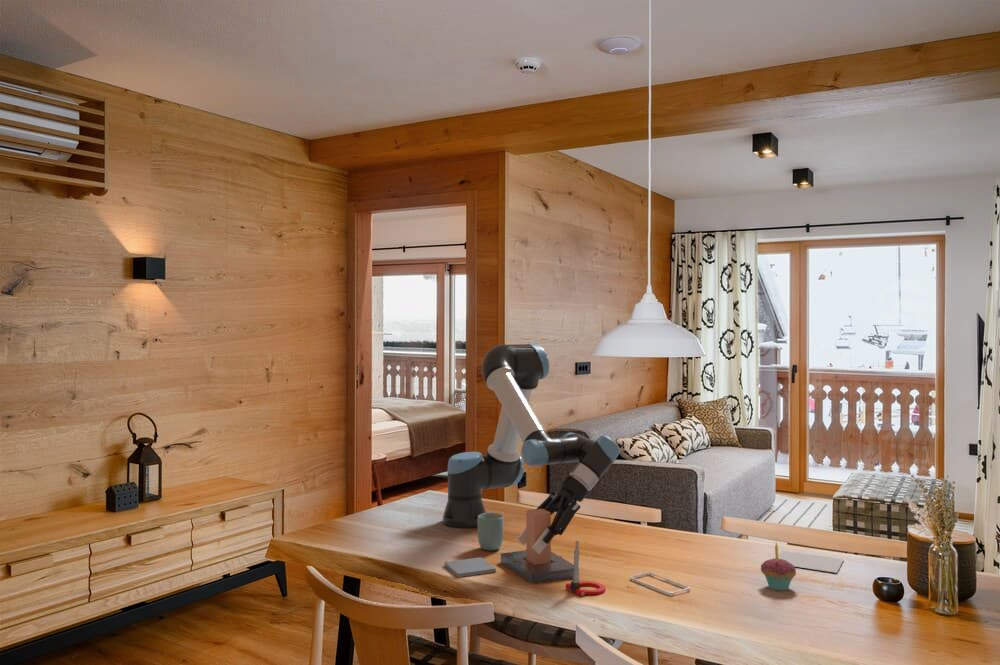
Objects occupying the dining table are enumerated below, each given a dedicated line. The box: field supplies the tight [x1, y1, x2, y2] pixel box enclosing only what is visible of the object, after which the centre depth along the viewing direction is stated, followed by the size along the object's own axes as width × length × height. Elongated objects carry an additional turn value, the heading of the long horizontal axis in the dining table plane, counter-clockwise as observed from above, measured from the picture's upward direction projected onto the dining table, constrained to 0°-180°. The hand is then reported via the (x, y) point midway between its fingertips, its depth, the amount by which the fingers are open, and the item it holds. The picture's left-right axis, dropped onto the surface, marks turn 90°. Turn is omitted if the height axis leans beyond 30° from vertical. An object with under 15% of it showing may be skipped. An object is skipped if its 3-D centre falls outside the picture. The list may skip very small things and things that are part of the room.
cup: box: [476, 512, 505, 552], centre depth 228 cm, size 8×8×10 cm
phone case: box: [629, 571, 691, 597], centre depth 196 cm, size 7×1×15 cm
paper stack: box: [778, 550, 845, 574], centre depth 216 cm, size 23×25×1 cm
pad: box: [443, 556, 497, 578], centre depth 209 cm, size 11×11×1 cm
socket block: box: [500, 549, 580, 584], centre depth 209 cm, size 20×14×2 cm
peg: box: [525, 508, 552, 565], centre depth 209 cm, size 5×5×16 cm
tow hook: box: [564, 540, 606, 597], centre depth 192 cm, size 8×13×9 cm
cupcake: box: [760, 542, 797, 591], centre depth 194 cm, size 9×8×12 cm
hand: (527, 546), depth 207 cm, fingers open, 9 cm apart
